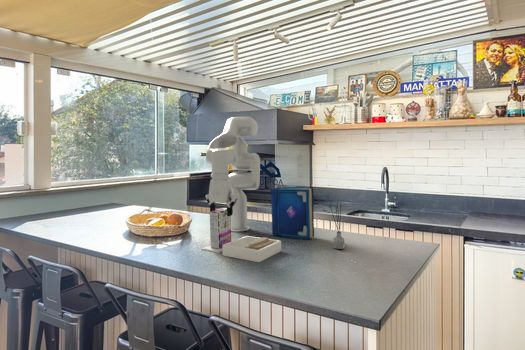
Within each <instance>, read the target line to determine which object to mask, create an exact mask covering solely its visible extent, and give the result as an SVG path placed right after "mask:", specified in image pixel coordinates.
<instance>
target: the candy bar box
mask: <svg viewBox="0 0 525 350" xmlns="http://www.w3.org/2000/svg"><path fill="white" fill-rule="evenodd" d="M209 226H210V229H209V230H210V232H209V233H210V235H209V236H210V245H211V248H217V249H220V248H222V247H223V244H226V243H229V242H231V241H232V231H231V216H227V207H221V208H217V209H216V210H214V211H211V212H210V211H209Z"/></svg>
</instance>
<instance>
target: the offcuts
mask: <svg viewBox="0 0 525 350" xmlns="http://www.w3.org/2000/svg"><path fill="white" fill-rule="evenodd" d="M260 238H261V239H258V240H256V241H253V242H251V243H248V248H249V249H255V250H259V249H261V248H264V247H266V246H268V245H270V244H272V243H274V241H271V240H269V239H270V238H269V237H265V236H264V237H260Z"/></svg>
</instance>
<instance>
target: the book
mask: <svg viewBox="0 0 525 350" xmlns="http://www.w3.org/2000/svg"><path fill="white" fill-rule="evenodd" d="M270 199H271V201H270V202H271V204H270V205H271V231H272V232H271V233H272V236H277V237H278V236H279V237H283V238H289V239H298V240H299V239H300V240H311V239H313V238H315V226H314V224H315V223H314V222H315V221H314V220H315V219H314V216H315V215H314V189H313V187H304V186H303V187H302V186H301V187H299V186H295V187H294V186H289V187H274V188H272V189H271V190H270Z"/></svg>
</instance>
